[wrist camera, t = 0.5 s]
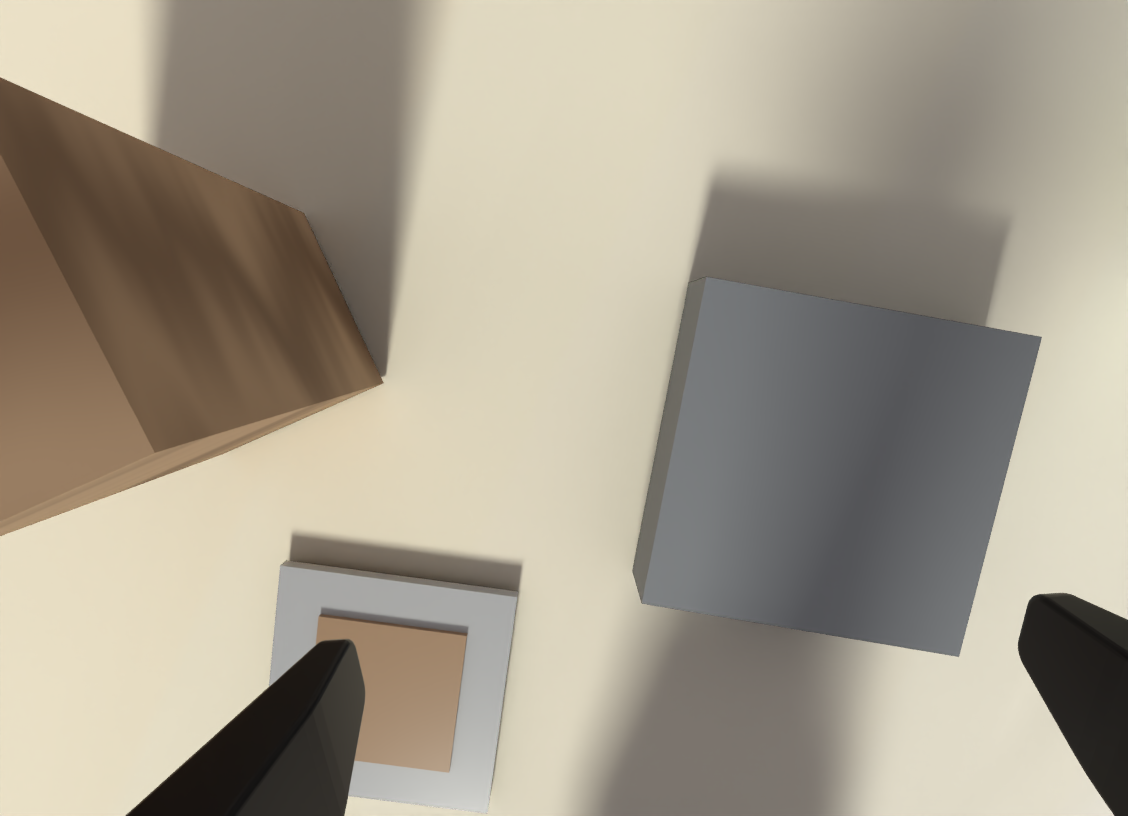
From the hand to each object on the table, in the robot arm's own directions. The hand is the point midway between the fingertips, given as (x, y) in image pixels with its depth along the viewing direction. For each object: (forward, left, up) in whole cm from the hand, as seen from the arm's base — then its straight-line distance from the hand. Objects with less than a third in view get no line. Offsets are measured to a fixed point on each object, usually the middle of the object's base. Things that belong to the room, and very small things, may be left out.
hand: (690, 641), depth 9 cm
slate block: (+1, -6, -14) cm, 16 cm away
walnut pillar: (+2, +12, -14) cm, 18 cm away
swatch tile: (-9, +7, -14) cm, 18 cm away
